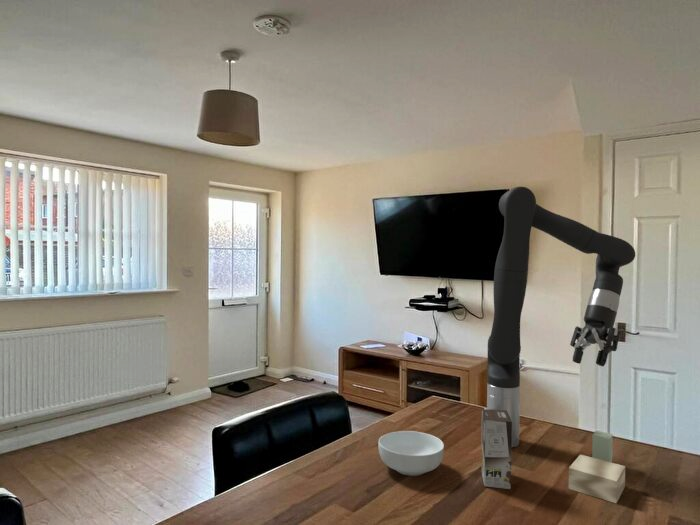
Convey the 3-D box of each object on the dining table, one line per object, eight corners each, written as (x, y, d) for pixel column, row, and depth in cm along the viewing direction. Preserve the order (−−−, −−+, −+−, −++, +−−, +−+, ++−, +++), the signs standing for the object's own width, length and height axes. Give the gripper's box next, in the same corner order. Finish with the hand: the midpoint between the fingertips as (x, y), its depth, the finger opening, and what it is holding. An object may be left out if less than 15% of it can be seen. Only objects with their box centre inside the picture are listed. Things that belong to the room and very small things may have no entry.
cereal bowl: (456, 468, 120) (456, 441, 120) (419, 492, 108) (419, 462, 108) (403, 449, 132) (403, 425, 132) (364, 469, 120) (365, 441, 120)
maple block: (568, 488, 110) (568, 467, 110) (579, 473, 118) (580, 454, 118) (616, 503, 104) (616, 481, 104) (624, 486, 111) (625, 466, 111)
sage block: (592, 464, 123) (592, 434, 123) (595, 459, 126) (596, 430, 126) (608, 469, 121) (609, 438, 120) (612, 464, 124) (612, 434, 124)
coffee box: (511, 489, 109) (512, 421, 109) (483, 487, 111) (484, 419, 110) (506, 472, 118) (507, 409, 118) (480, 469, 120) (481, 407, 119)
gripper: (572, 304, 136) (558, 357, 132) (611, 302, 122) (596, 361, 118) (593, 314, 137) (579, 366, 134) (633, 313, 123) (619, 371, 120)
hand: (587, 363), depth 126 cm, fingers open, 8 cm apart
